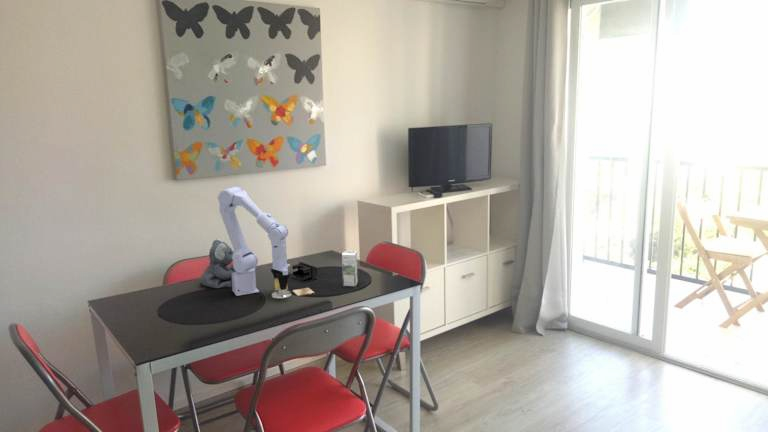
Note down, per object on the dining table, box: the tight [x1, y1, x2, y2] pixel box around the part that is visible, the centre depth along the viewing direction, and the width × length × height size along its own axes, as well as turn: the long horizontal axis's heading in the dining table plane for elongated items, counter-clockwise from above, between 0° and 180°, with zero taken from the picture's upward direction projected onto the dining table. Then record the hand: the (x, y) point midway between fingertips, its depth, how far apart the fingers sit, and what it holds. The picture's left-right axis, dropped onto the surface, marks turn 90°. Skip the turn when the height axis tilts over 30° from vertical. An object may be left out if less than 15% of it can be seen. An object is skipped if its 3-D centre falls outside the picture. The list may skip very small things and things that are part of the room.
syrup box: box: [341, 250, 358, 288], centre depth 233 cm, size 6×6×14 cm
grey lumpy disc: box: [271, 287, 293, 300], centre depth 222 cm, size 8×8×3 cm
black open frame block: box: [291, 261, 319, 283], centre depth 243 cm, size 10×7×7 cm
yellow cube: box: [274, 278, 288, 291], centre depth 222 cm, size 5×5×5 cm
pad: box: [292, 287, 315, 297], centre depth 226 cm, size 7×7×1 cm
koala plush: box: [200, 238, 236, 289], centre depth 237 cm, size 17×18×20 cm
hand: (281, 287), depth 222 cm, fingers closed on yellow cube, 5 cm apart
